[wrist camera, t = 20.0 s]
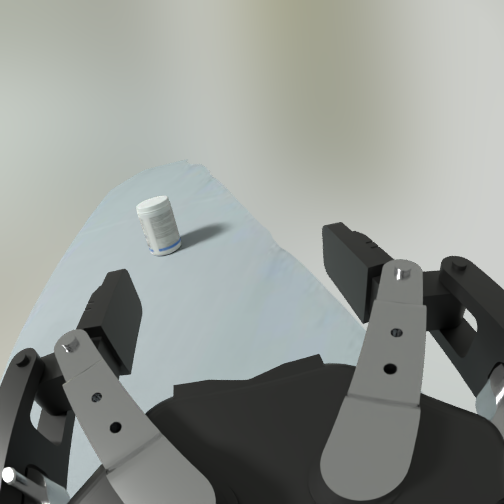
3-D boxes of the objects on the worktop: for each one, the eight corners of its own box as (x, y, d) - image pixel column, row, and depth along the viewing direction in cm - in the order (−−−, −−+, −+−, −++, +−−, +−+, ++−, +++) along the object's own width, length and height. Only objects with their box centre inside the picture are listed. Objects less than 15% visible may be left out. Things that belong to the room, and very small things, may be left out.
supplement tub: (186, 240, 85) (174, 193, 78) (174, 256, 77) (159, 205, 70) (159, 242, 87) (145, 197, 81) (145, 258, 79) (129, 210, 72)
